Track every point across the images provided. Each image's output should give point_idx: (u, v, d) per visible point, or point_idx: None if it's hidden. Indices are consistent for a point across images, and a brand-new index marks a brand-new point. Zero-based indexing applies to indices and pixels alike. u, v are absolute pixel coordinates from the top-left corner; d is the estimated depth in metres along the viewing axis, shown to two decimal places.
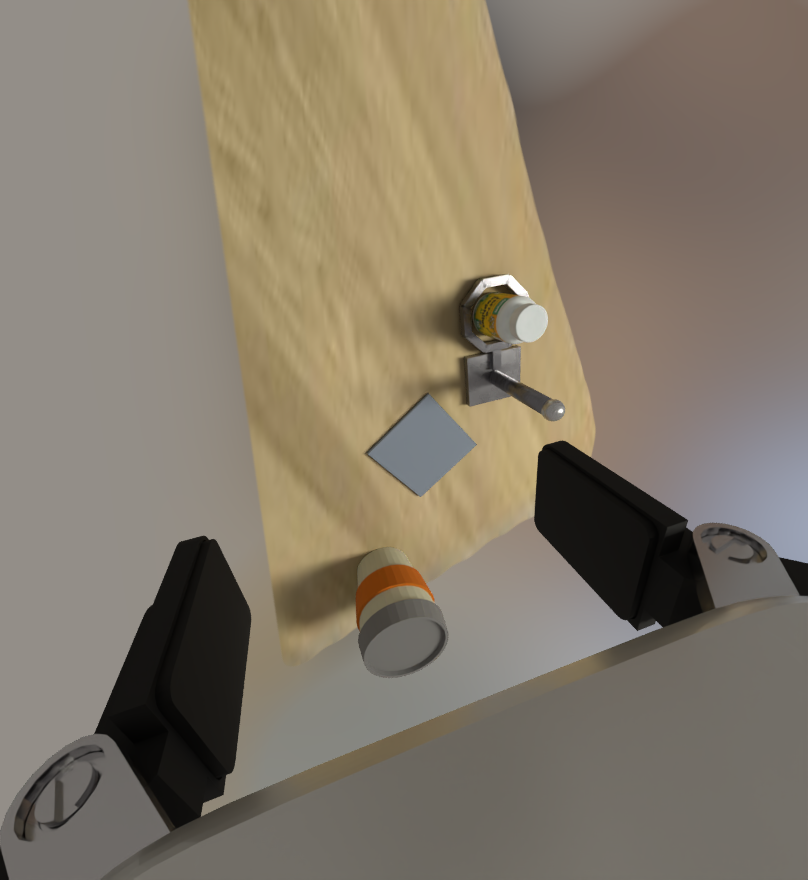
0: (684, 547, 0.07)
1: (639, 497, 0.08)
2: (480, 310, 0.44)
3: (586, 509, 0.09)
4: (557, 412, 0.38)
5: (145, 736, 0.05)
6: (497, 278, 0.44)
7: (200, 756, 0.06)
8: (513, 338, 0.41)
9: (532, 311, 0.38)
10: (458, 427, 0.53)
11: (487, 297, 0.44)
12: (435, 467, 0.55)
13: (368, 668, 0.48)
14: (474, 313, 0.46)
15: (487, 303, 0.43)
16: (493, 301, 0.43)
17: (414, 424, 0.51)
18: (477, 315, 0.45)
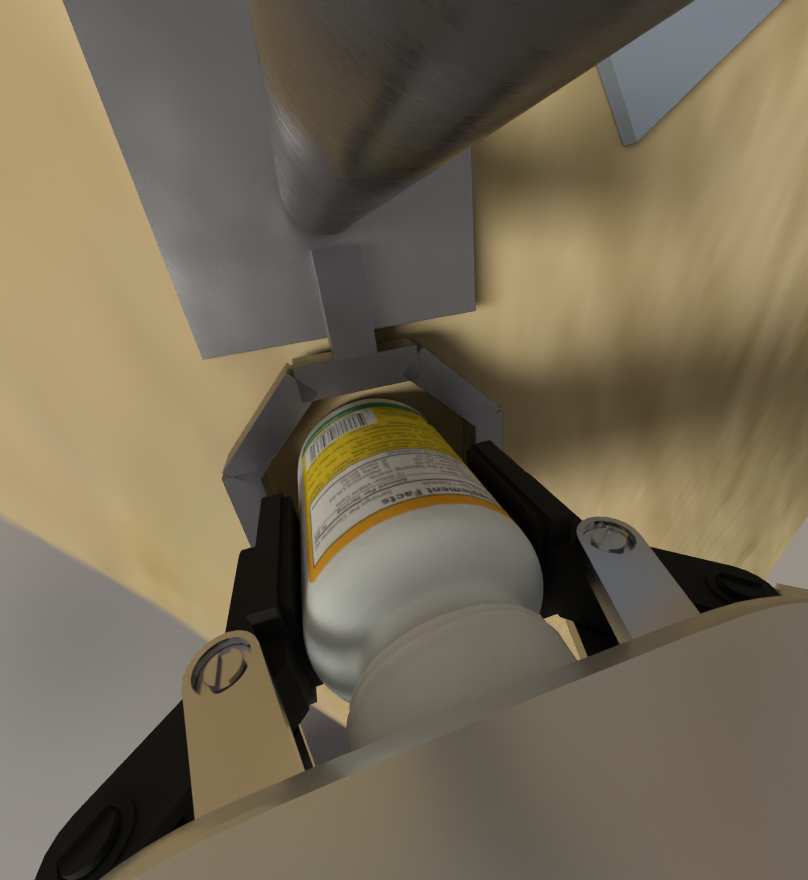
0: None
1: (538, 493, 0.08)
2: None
3: None
4: None
5: (270, 637, 0.07)
6: None
7: (303, 664, 0.08)
8: (491, 571, 0.06)
9: None
10: None
11: None
12: None
13: None
14: None
15: None
16: None
17: None
18: None
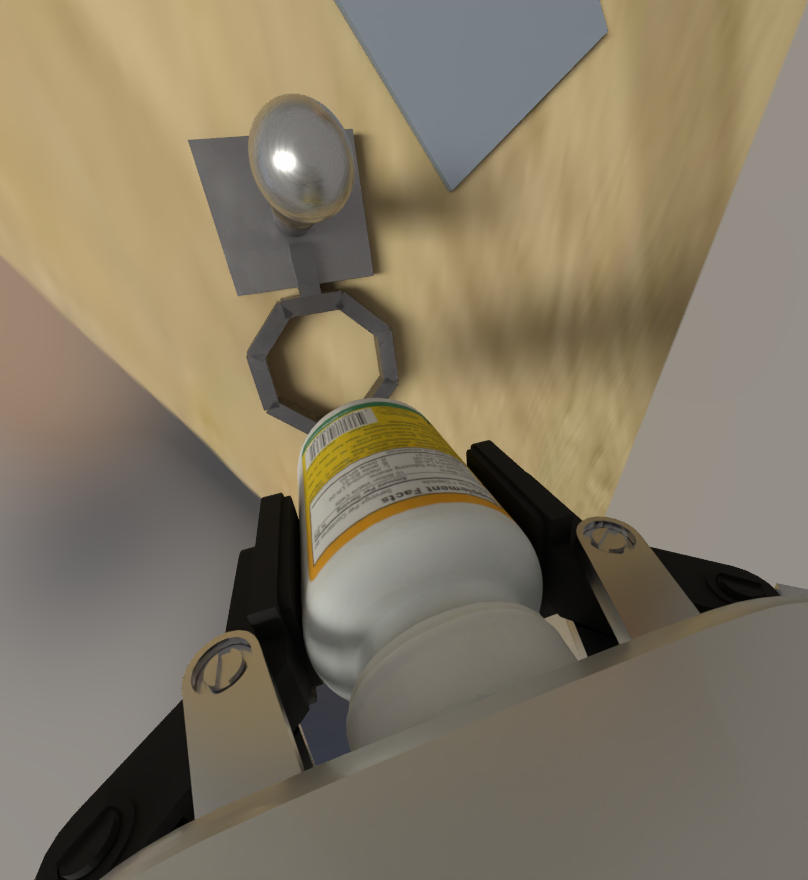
0: None
1: (538, 493, 0.08)
2: None
3: None
4: (324, 166, 0.08)
5: (270, 637, 0.07)
6: None
7: (303, 664, 0.08)
8: (491, 569, 0.06)
9: None
10: (372, 48, 0.18)
11: None
12: None
13: None
14: None
15: None
16: None
17: (491, 101, 0.20)
18: None
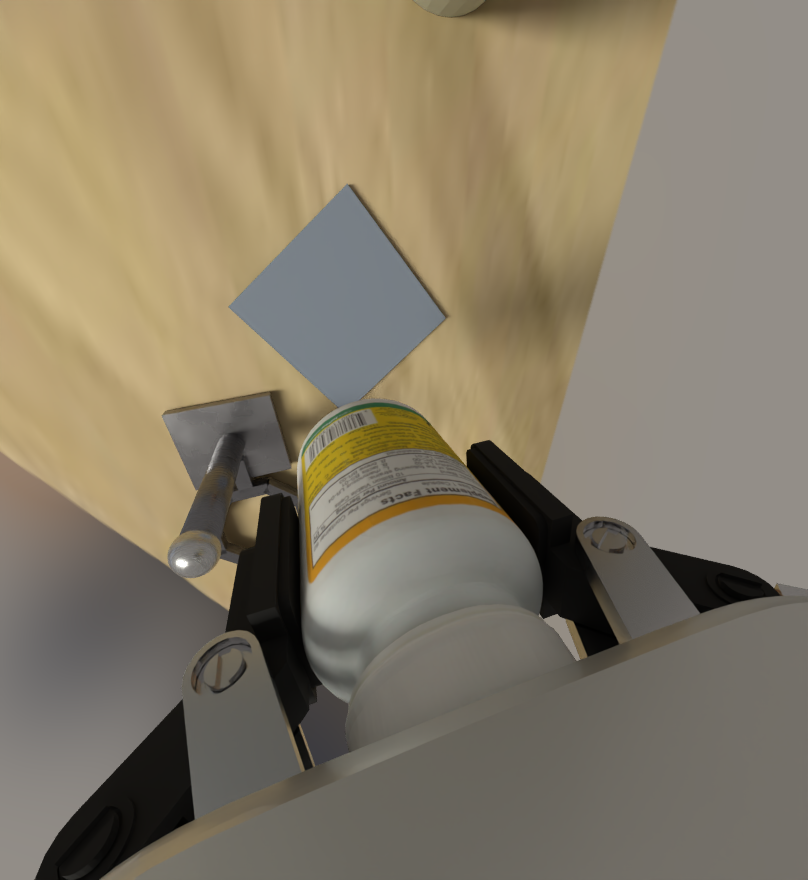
0: None
1: (537, 493, 0.08)
2: None
3: None
4: (199, 570, 0.18)
5: (270, 637, 0.07)
6: None
7: (303, 664, 0.08)
8: (490, 572, 0.06)
9: None
10: (280, 351, 0.28)
11: None
12: (318, 263, 0.26)
13: None
14: None
15: None
16: None
17: (367, 364, 0.31)
18: None
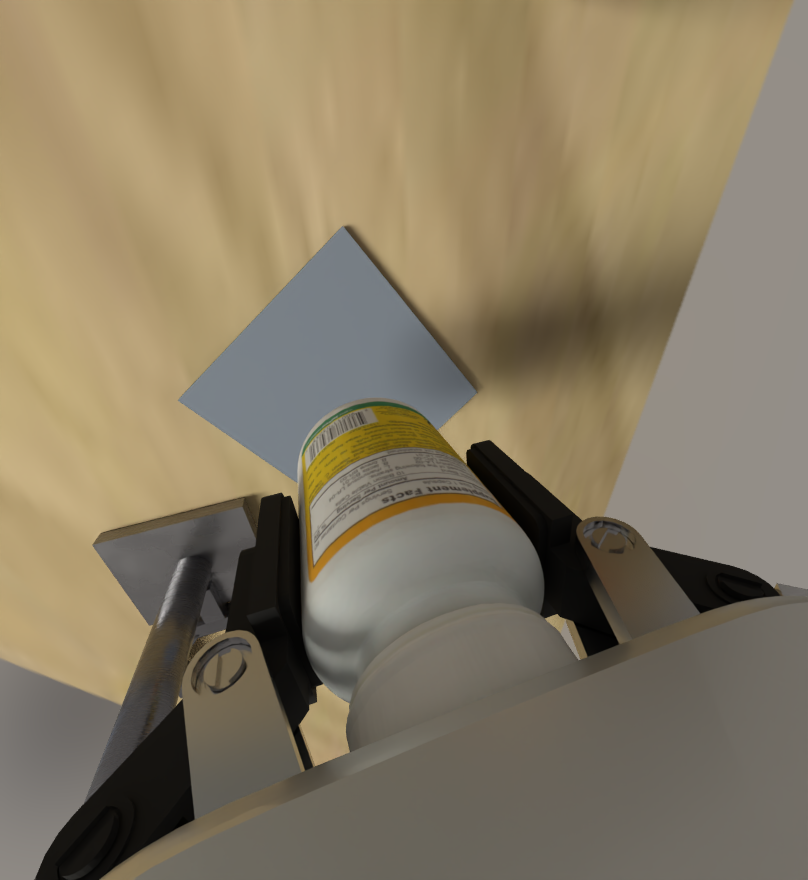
0: None
1: (538, 493, 0.08)
2: None
3: None
4: None
5: (270, 637, 0.07)
6: None
7: (303, 664, 0.08)
8: (492, 570, 0.06)
9: None
10: (255, 450, 0.21)
11: None
12: (305, 336, 0.19)
13: None
14: None
15: None
16: None
17: None
18: None
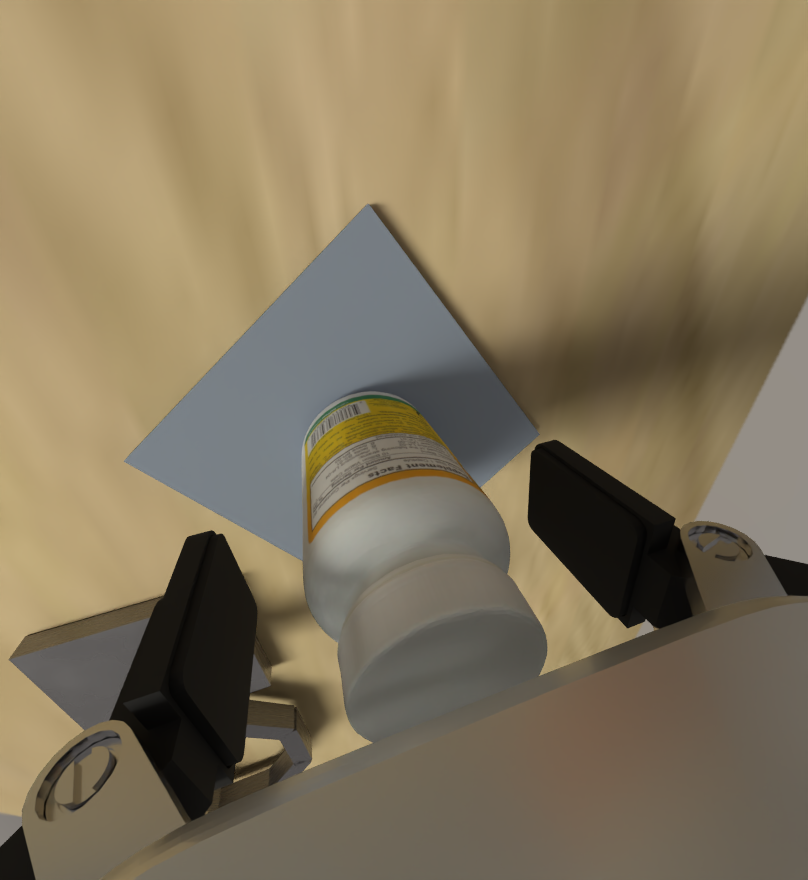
0: (672, 545, 0.08)
1: (628, 496, 0.08)
2: None
3: (577, 508, 0.09)
4: None
5: (159, 723, 0.06)
6: None
7: (211, 744, 0.06)
8: (458, 530, 0.08)
9: None
10: (240, 522, 0.15)
11: None
12: (310, 366, 0.13)
13: None
14: None
15: None
16: None
17: None
18: None
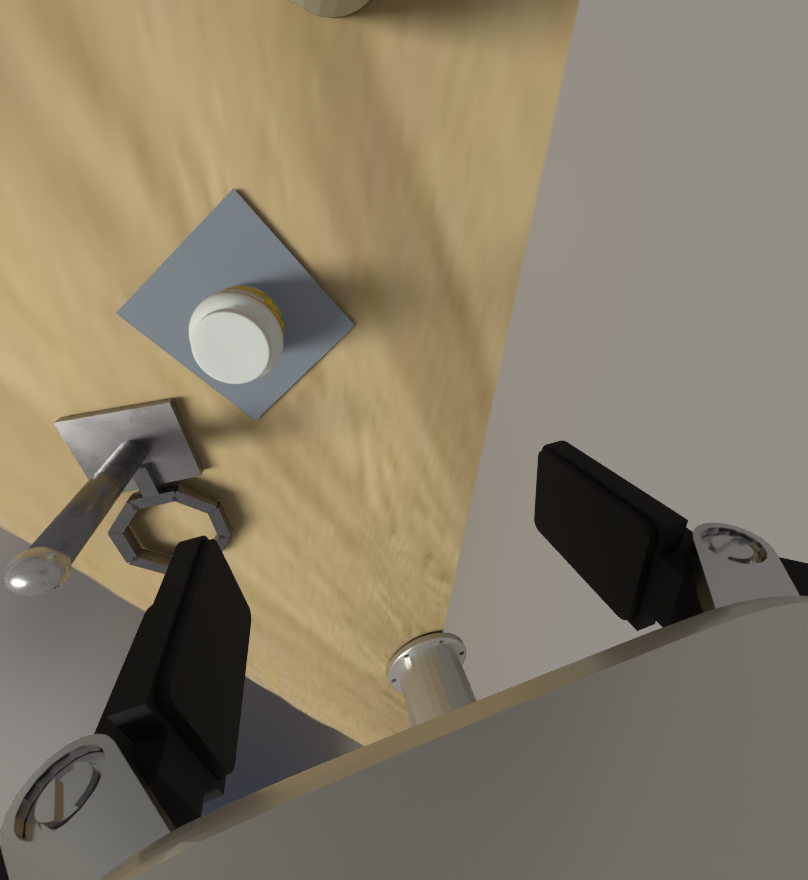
0: (684, 547, 0.07)
1: (639, 497, 0.08)
2: None
3: (586, 509, 0.09)
4: (36, 590, 0.17)
5: (145, 736, 0.05)
6: None
7: (200, 756, 0.06)
8: (244, 309, 0.21)
9: (239, 372, 0.20)
10: (178, 358, 0.28)
11: None
12: (211, 269, 0.26)
13: None
14: None
15: None
16: None
17: (274, 371, 0.30)
18: (283, 325, 0.27)
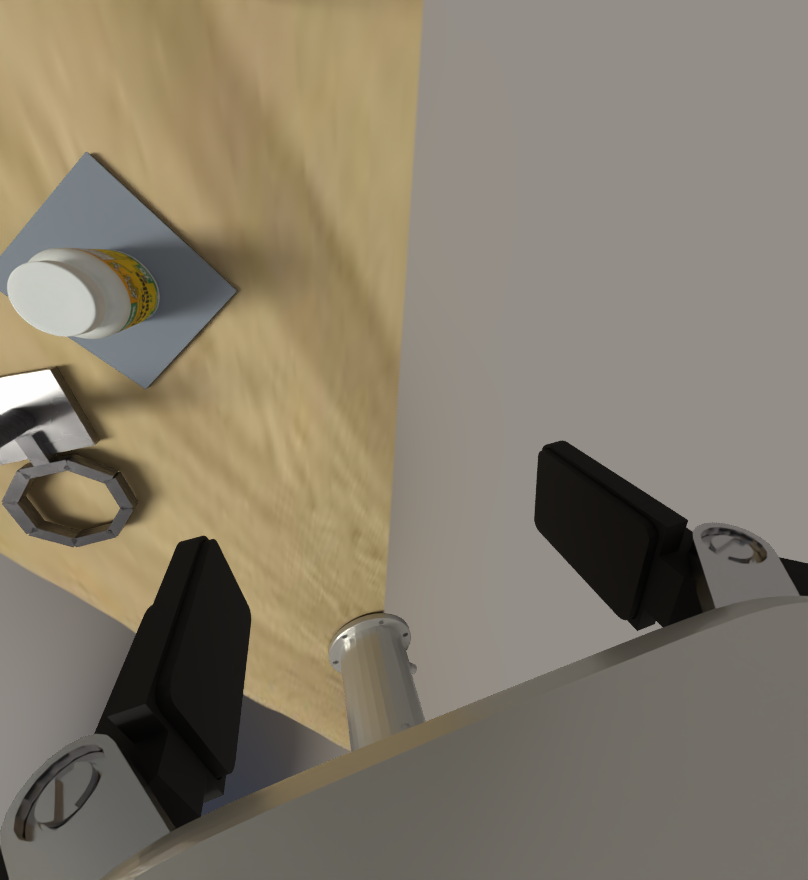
0: (684, 547, 0.07)
1: (639, 497, 0.08)
2: (151, 298, 0.27)
3: (586, 509, 0.09)
4: None
5: (145, 736, 0.05)
6: (93, 541, 0.35)
7: (200, 756, 0.06)
8: (73, 263, 0.21)
9: (67, 324, 0.21)
10: None
11: (146, 318, 0.28)
12: (74, 234, 0.26)
13: None
14: (157, 290, 0.28)
15: (146, 312, 0.27)
16: (139, 318, 0.26)
17: (158, 339, 0.31)
18: (153, 289, 0.28)
